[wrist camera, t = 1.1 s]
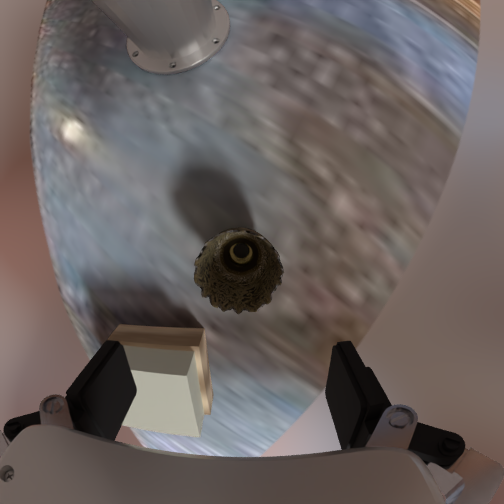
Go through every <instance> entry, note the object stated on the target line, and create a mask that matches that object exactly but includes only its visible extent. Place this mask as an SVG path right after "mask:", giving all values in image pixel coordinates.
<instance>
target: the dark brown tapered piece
mask: <svg viewBox="0 0 504 504" xmlns="http://www.w3.org/2000/svg"><path fill="white" fill-rule="evenodd" d="M238 244H245V245H246V246H247V247H248V249H249V253H248V255H247V256H246V257H244V258H239V257H237V256H236V255H235V253H234V248H235V246H236V245H238ZM279 258H280V256H279V254H278V252H277V251H276V250H275V249H274V247H273V246H272V244H271V243H270V242H269V241H268V240H267V239H266V238H264V237H263V236H262V235H261V234H259V233H258V232H256V231H254V230H251V229H248V228H231V229H228V230H225V231H223V232H221V233H219V234H218V235H216V236H214V237H213V238H211V239H210V240H208V241H207V242H206V243H205V246H204V247H203V248H202V250H201V252H200V255H199V256H198V257H197V258H196V260H195V264H194V266H195V267H196V268H195V272H194V281H195V283H196V285H197V286H199V287H200V288H201V289H202V291H201V295H202V297H203V298H206V297H209V299H210V303H211V305H212V306H213V307H216V308H218V307H219V308H221V310H222V311H223V312H224V311H227V310H231V309H232V308H233V310H234V312H236V313H237V314H240V313H241V312H242V311H243V310H246V311H248V312H257V311H258V310H259V309H260V308H261V307H263V306H264V305H265V304H269V303H270V302H271V300H272V293H273V292H274V291H275V290H276V288H277V286H278V285H281V283H282V280H281V277H282V276H283V273H284V271H283V267H282V264H281V262H280V259H279Z"/></svg>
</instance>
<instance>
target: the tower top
mask: <svg viewBox="0 0 504 504" xmlns="http://www.w3.org/2000/svg"><path fill="white" fill-rule="evenodd" d="M123 347H124V350H125V353H126V356H127V360H128V363H129V366H130V369H131V372H132V375H133V378H134V381H135V384H136V387H137V393H136V396H135V398H134V400H133V402H132V404H131V406H130V408H129V410H128V413H127V415H126V417H125V419H124V421H123V423H122V425H123V426H128V427H133V428H138V429H143V430H148V431H154V432H160V433H167V434H174V435H182V436H191V437H200V435H201V430H202V424H203V418H204V408H203V403H202V397H201V391H200V385H199V379H198V372H197V366H196V359H195V352H194V351H181V350H167V349H155V348H145V347H136V346H127V345H123Z"/></svg>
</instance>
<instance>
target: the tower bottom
mask: <svg viewBox="0 0 504 504" xmlns="http://www.w3.org/2000/svg"><path fill="white" fill-rule="evenodd" d="M107 340H114V341H119V342H120V344H122V345H127V346H136V347H145V348H155V349H167V350H181V351H194V352H195V359H196V366H197V372H198V379H199V385H200V391H201V397H202V403H203V408H204V414H207V415H210V414H211V407H212V401H213V389H212V382H211V376H210V369H209V361H208V354H207V346H206V338H205V329H204V328H175V327H154V326H139V325H126V324H119V325H118V327H117V328H116V329H115V330H114V331H113V333H112V334H111V335H110V336H109V338H108V339H107Z"/></svg>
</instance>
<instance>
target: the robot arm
mask: <svg viewBox="0 0 504 504" xmlns="http://www.w3.org/2000/svg"><path fill="white" fill-rule="evenodd" d="M91 1H92V2H93V3H95V4H96V5H97V6H98V7H99V8H100V9H101V10H102V11H103V12H104V13H105V14H106V15H107V16H108V17H109V18H110V19H111V20H112V21H113V22H114V23H115V24H116V25H117V26H118V27H119V28H120V29H121V30H122V31H123V32H124V33H125V34H126V35H127V37H128V38H127V51H128V54H129V56H130V58H131V60H132V61H133V62H134V63H135V64H136V65H137V66H138V67H140V68H141V69H143V70H145V71H147V72H150V73H154V74H165V75H168V74H176V73H180V72H184V71H188V70H190V69H193V68H195V67H197V66H199V65H201V64H203V63H204V62H206V61H208V60H209V59H210V58H211V57H213V56H214V55H215V54H216V53H217V52H218V51H219V50H220V49H221V48H222V46H223V45H224V43H225V42H226V40H227V38H228V35H229V31H230V19H229V15H228V12H227V11H226V9H225V7H224V6H223V5H222V4H221V3H219V2H218V1H216V0H91ZM215 43H216V44H215ZM175 66H176V67H175ZM173 67H175V68H173ZM136 393H137V387H136V384H135V381H134V378H133V375H132V372H131V369H130V366H129V363H128V360H127V356H126V353H125V350H124V347H123V345H122V344H120V342H119V341H114V340H107V341H106V342H105V343H104V344H103V345H102V346H101V348H100V349H99V350H98V351H97V353H96V354H95V355H94V356H93V358H92V359H91V360H90V361H89V363H88V364H87V365H86V367H85V368H84V369H83V371H82V372H81V373H80V374H79V376H78V377H77V378H76V379H75V381H74V382H73V383H72V385H71V386H70V387H69V389H68V390H67V391H66V394H67V396H66V397H65V398H64V397H63V396H61V395H56V394H55V395H50V396H47V397H46V398H44V399H43V400H42V401H41V403H40V407H39V410H40V411H38V412H34V413H31V414H27V415H23V416H20V417H16V418H13V419H10V420H9V421H8V422H7V423H6V424H5V426H4V432H3V433H2V432H1V430H0V504H489V503H490V501H491V499H492V498H493V496H494V494H495V493H496V491H497V489H498V487H499V485H500V484H501V482H502V480H503V477H504V468H503V466H502V465H501V464H499V463H498V462H496V461H494V460H492V459H490V458H489V457H487V456H485V455H483V454H481V453H479V452H478V451H476V450H474V449H473V448H470V449H469V450H468V449H466V448H465V442H464V440H463V438H462V437H461V436H459V435H458V434H456V433H453V432H449V431H446V430H442V429H438V428H435V427H432V426H429V425H425V424H422V423H419V422H417V421H418V416H417V413H416V412H415V411H414V410H413V409H412V408H411V407H408V406H406V405H393V406H392V405H391V403H390V401H389V400H388V398H387V396H386V394H385V392H384V390H383V389H382V387H381V385H380V383H379V382H378V380H377V378H376V376H375V375H374V373H373V371H372V369H371V368H370V367H365V365H364V363H363V362H362V360H361V358H360V356H359V354H358V353H357V351H356V349H355V347H354V346H353V344H352V342H351V341H343V342H338V343H337V345H336V346H333V348H332V355H331V361H330V367H329V373H328V379H327V384H326V390H325V394H326V399H327V402H328V406H329V409H330V412H331V415H332V419H333V422H334V425H335V429H336V432H337V435H338V439H339V442H340V445H341V449H342V450H337V451H330V452H323V453H313V454H303V455H291V456H277V457H221V456H205V455H193V454H184V453H176V452H169V451H162V450H156V449H150V448H145V447H139V446H135V445H130V444H126V443H122V442H117V441H115V438H116V436H117V434H118V432H119V430H120V428H121V425H122V423H123V421H124V419H125V417H126V415H127V413H128V410H129V408H130V406H131V404H132V402H133V400H134V398H135V396H136ZM441 492H442V493H443V494H445V497H446V502H445V500H444V498H443V495H442V493H441Z"/></svg>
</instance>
